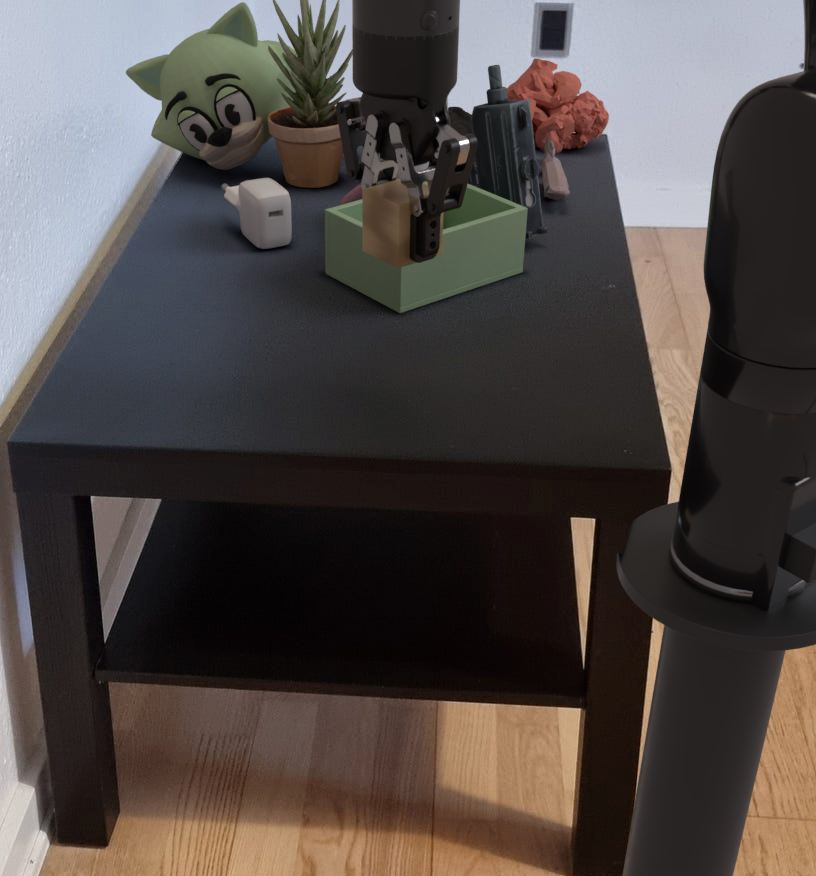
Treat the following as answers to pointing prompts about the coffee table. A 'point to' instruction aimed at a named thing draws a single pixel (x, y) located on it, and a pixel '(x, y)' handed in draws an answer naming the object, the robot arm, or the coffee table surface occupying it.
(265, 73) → the toy
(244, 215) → the power adapter
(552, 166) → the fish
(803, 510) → the robot arm
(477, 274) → the bin
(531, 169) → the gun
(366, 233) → the block
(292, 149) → the potted plant
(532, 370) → the coffee table surface
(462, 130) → the rock
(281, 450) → the coffee table surface
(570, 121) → the anatomical model
